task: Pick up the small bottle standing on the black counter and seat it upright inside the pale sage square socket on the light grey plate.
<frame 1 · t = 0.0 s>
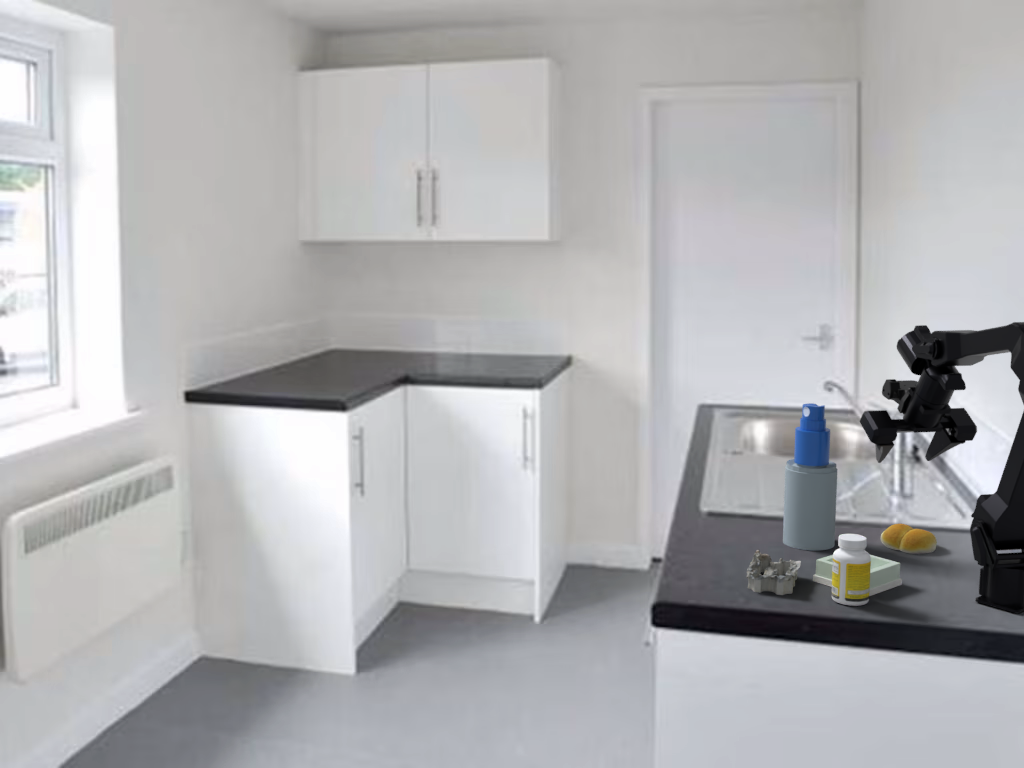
hand: (902, 460, 180), 15 cm above the worktop, tool tilted 35°, fingers open, 9 cm apart
spray bottle: (808, 544, 182), on the worktop
egg carton: (773, 586, 161), on the worktop
bread roll: (908, 548, 179), on the worktop
socket block: (857, 582, 161), on the worktop
supplement bottle: (849, 601, 153), on the worktop
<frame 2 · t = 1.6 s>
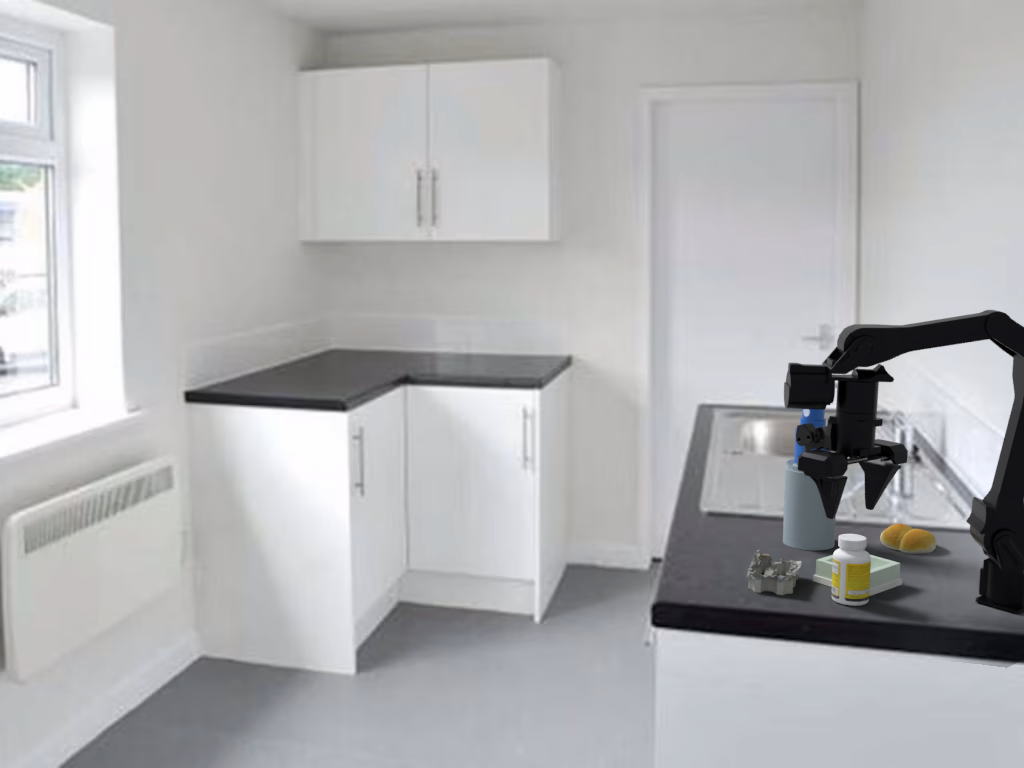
hand: (850, 513, 152), 13 cm above the worktop, tool pointing down, fingers open, 9 cm apart
nothing on the worktop moved.
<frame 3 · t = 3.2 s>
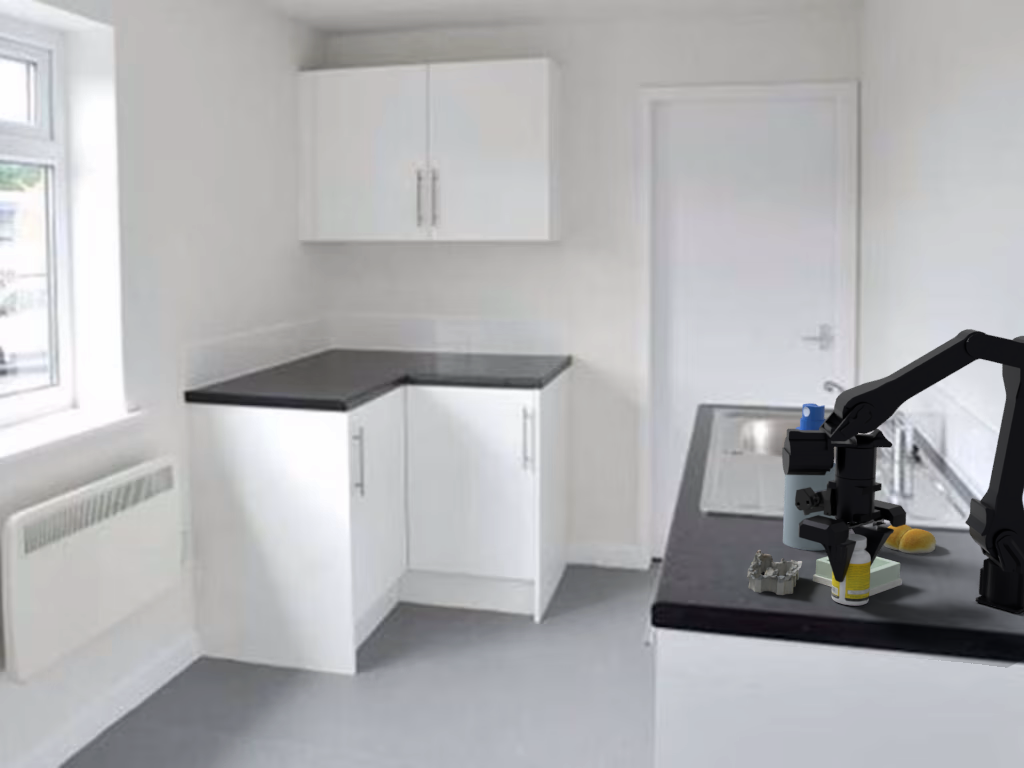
hand: (850, 577, 153), 4 cm above the worktop, tool pointing down, fingers closed on supplement bottle, 5 cm apart
supplement bottle: (849, 601, 153), on the worktop, touching gripper
everything else where it was.
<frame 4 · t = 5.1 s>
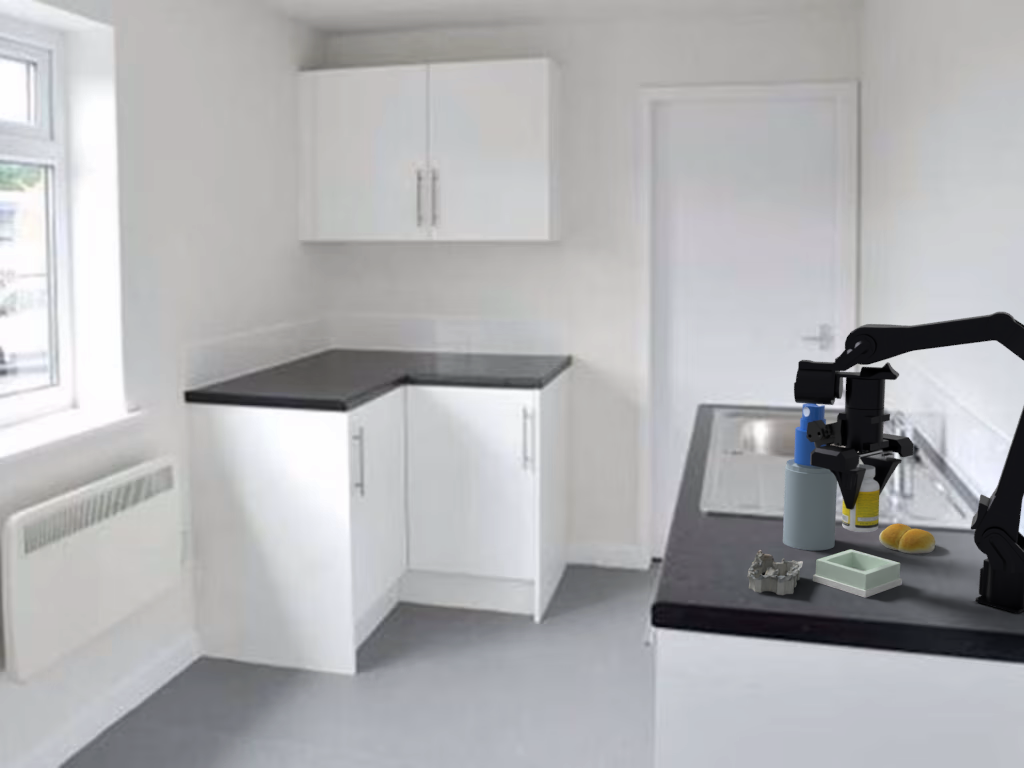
hand: (860, 505, 159), 12 cm above the worktop, tool pointing down, fingers closed on supplement bottle, 5 cm apart
supplement bottle: (859, 529, 159), point 9 cm above the worktop, touching gripper
everything else where it was.
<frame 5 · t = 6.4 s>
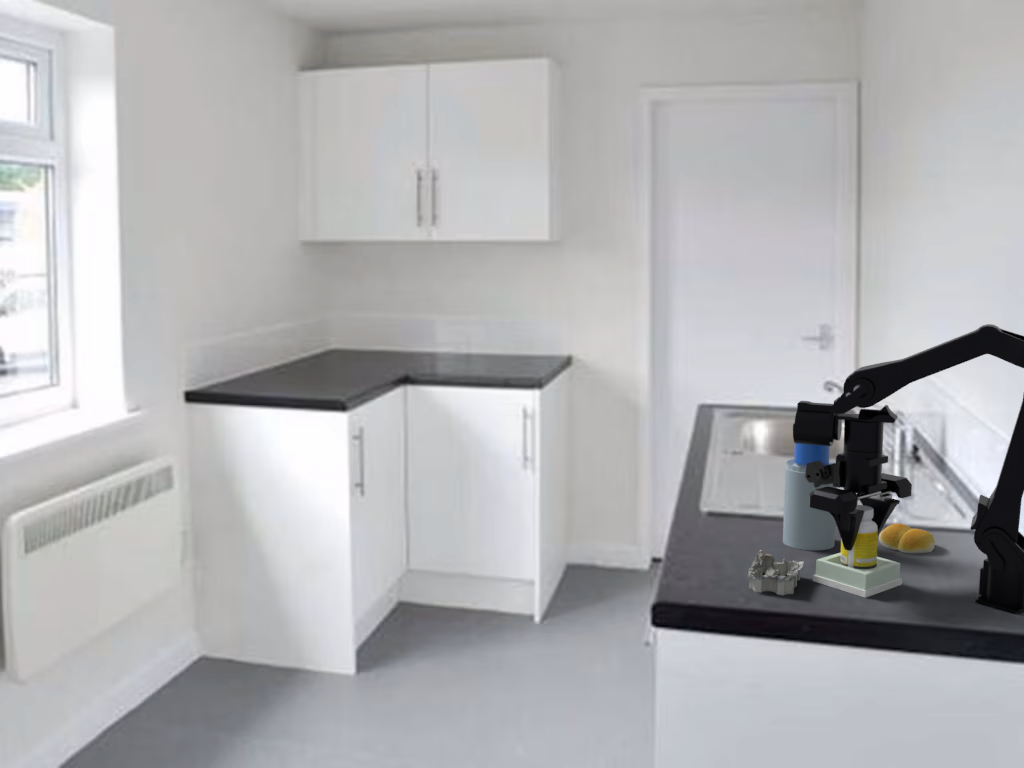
hand: (859, 546, 160), 6 cm above the worktop, tool pointing down, fingers closed on supplement bottle, 5 cm apart
supplement bottle: (858, 569, 160), point 2 cm above the worktop, touching gripper
everything else where it was.
when the fingers open (6 cm above the worktop, at t = 7.0 s): supplement bottle drops 1 cm, resting on socket block.
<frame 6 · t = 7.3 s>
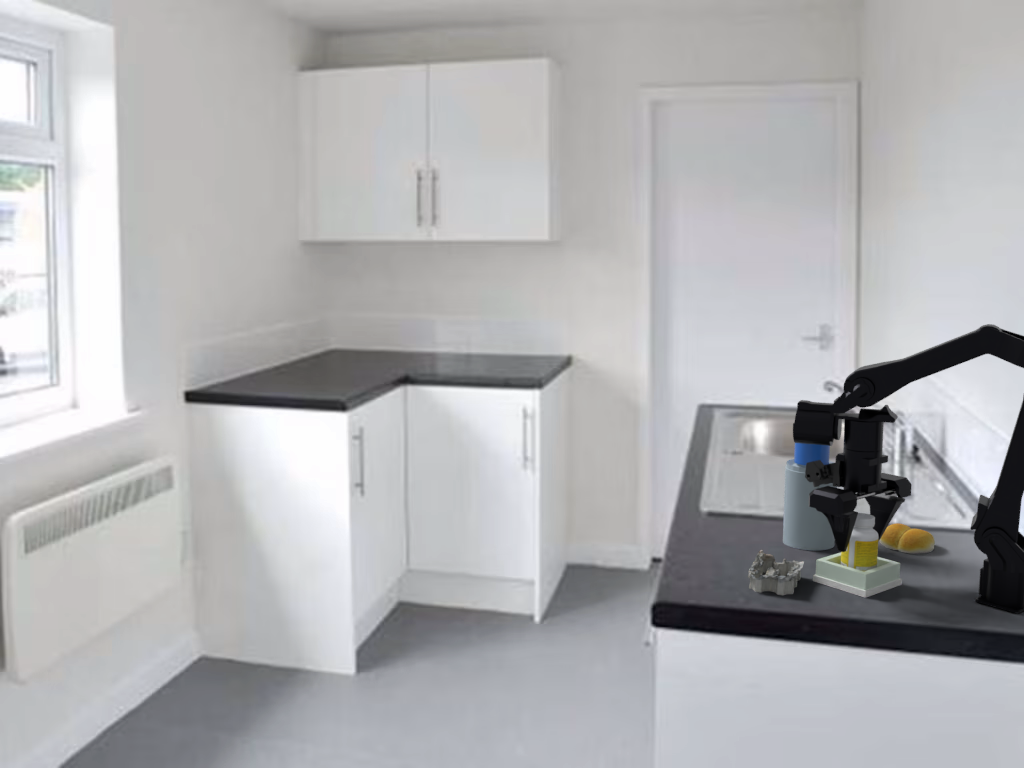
hand: (858, 546, 160), 6 cm above the worktop, tool pointing down, fingers open, 8 cm apart
supplement bottle: (857, 577, 161), point 1 cm above the worktop, touching socket block
everything else where it was.
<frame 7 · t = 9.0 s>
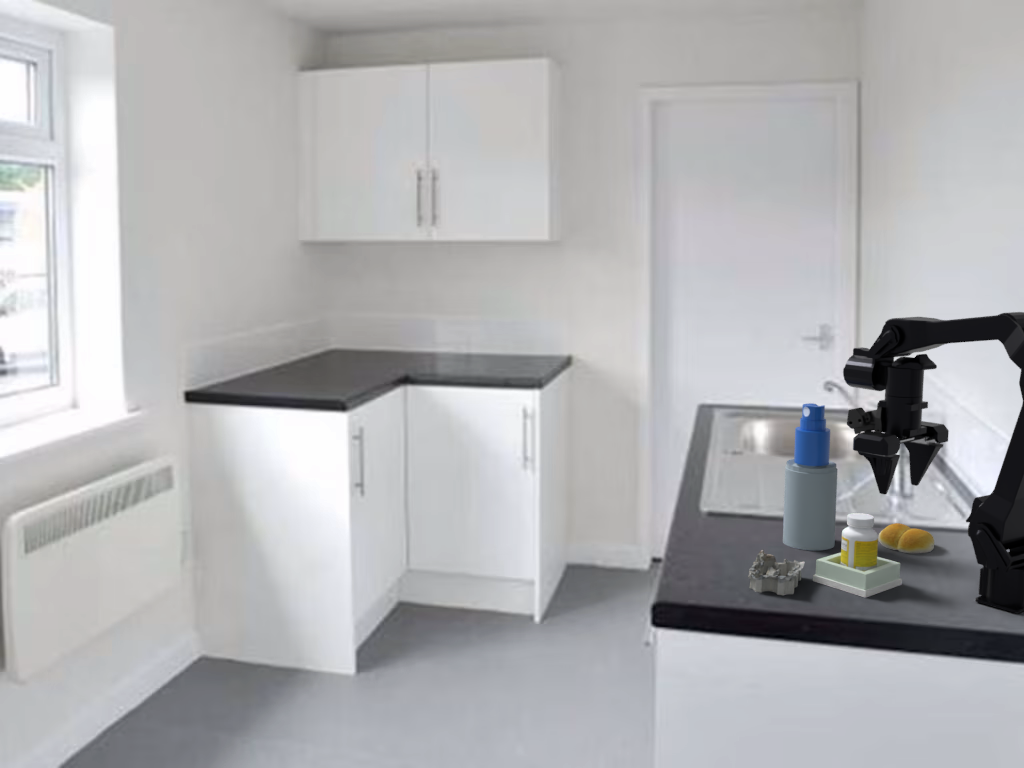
hand: (899, 489, 167), 13 cm above the worktop, tool pointing down, fingers open, 9 cm apart
nothing on the worktop moved.
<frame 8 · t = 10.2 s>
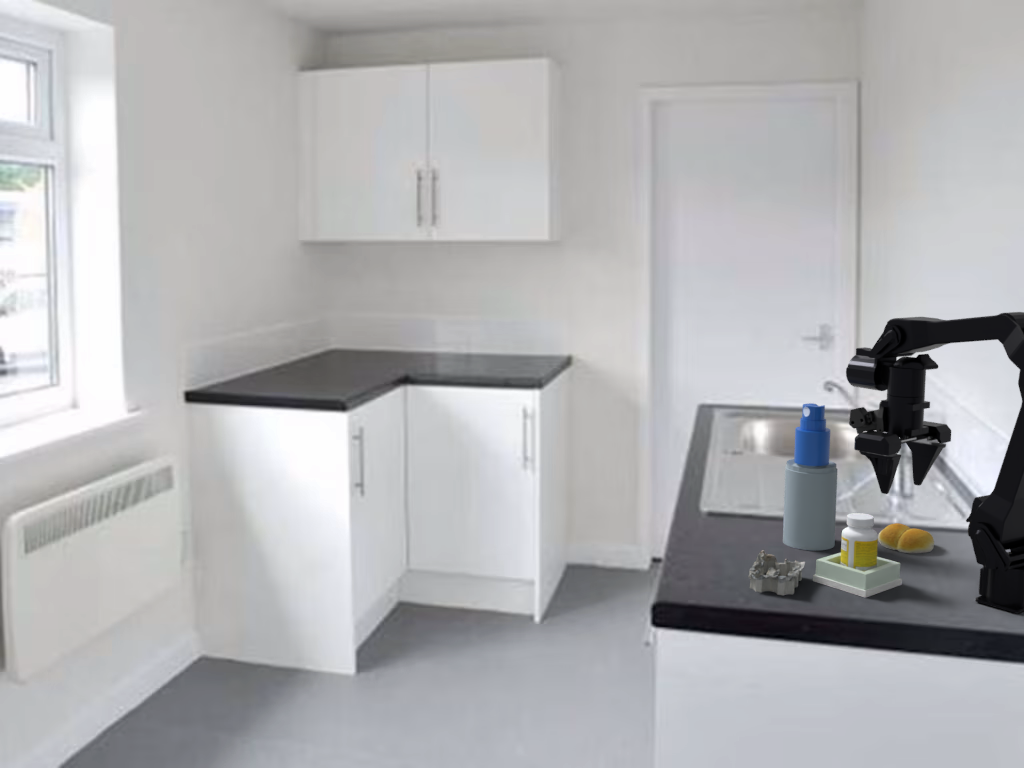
hand: (901, 489, 167), 13 cm above the worktop, tool pointing down, fingers open, 9 cm apart
nothing on the worktop moved.
at the end: supplement bottle 0.1 cm off-centre on the socket block, point 0.8 cm above the socket block's base; supplement bottle tilted 0°; the gripper is holding nothing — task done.
